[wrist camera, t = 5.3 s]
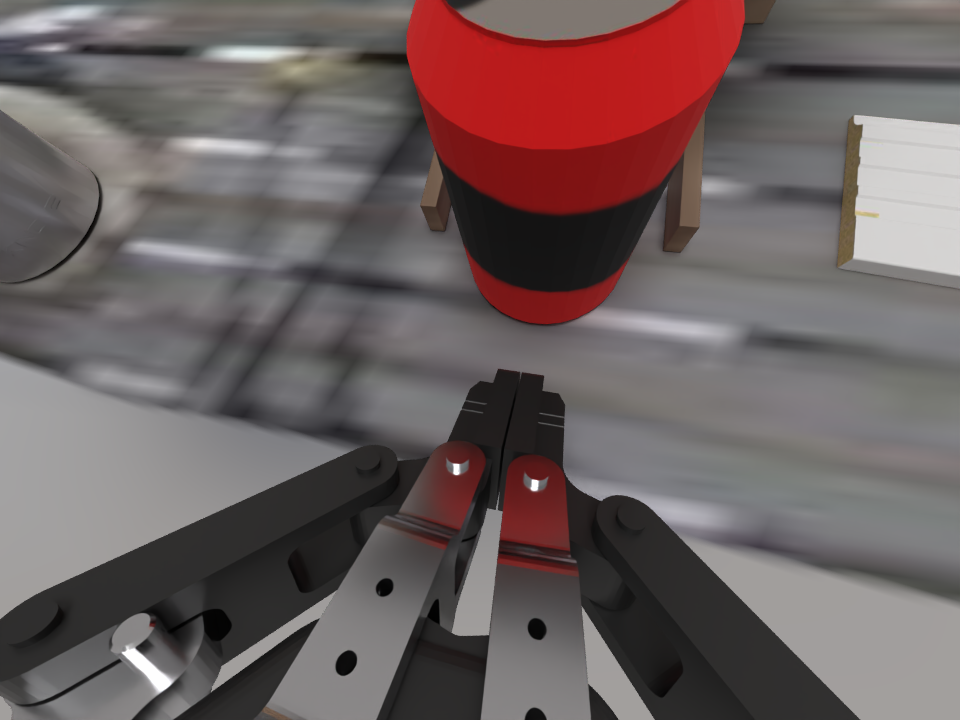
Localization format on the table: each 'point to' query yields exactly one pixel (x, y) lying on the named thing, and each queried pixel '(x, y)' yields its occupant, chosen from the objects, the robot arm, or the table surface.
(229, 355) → the table surface
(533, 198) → the soda can
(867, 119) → the baseboard
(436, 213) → the overhang shelf
